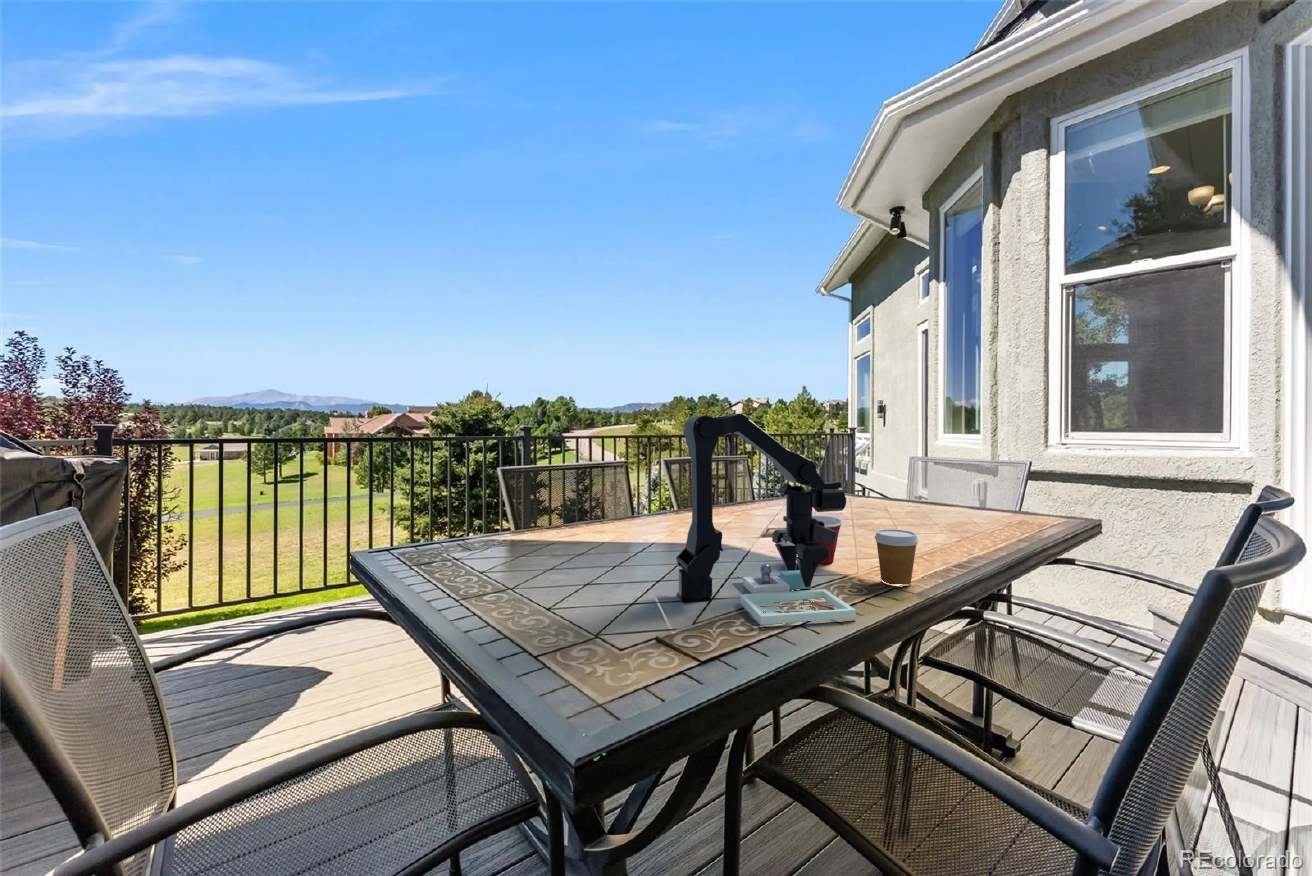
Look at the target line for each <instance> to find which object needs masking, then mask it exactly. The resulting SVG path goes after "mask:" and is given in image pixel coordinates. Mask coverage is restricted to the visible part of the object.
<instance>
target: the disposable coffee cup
mask: <svg viewBox="0 0 1312 876" xmlns="http://www.w3.org/2000/svg"><path fill="white" fill-rule="evenodd" d="M874 539H875V542H876V546H877V556H878V564H879V572H880V579H882V580H883V581H884V582H886V583H889V584H910V583H911V584H912V579H913V571H914V563H915V557H916V550H917V549H916V548H917V545H918V543H919V542H920V541H919V540H920V539H919V538H918V535H917V533H915V532H913V531H911V530H910V531H909V530H906V529H905V530H904V529H896V528H895V529H894V528H893V529H892V528H891V529H889V528H886V529H878V530H877V531H876V534H875V535H874Z"/></svg>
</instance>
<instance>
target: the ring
mask: <svg viewBox="0 0 1312 876" xmlns="http://www.w3.org/2000/svg"><path fill="white" fill-rule="evenodd" d="M742 583H743V586H744V587H745V588H746V589H747V590H748V591H749V592H750V593H752V594H757V593H773V592H789V591H790V590H796V591H798V590H797V589H806V588H811V589H812V584H811V585H810V587H805V586H804V583H803V580H802V577H801V573H800V570H799V569H798V570H796V569H795V571H787V570H781V571H780V570H779V576H778V575H775V574H774V575H771V574H770V584H764V585H761V575H754V576H743V577H742Z"/></svg>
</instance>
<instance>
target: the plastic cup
mask: <svg viewBox="0 0 1312 876" xmlns="http://www.w3.org/2000/svg"><path fill="white" fill-rule="evenodd" d="M812 518H815V519H816V520H818V521H821V522H823V523H824V525H825V527H826V528H828V529H831V530H833V531H836V532H838V534H837V537H836V539H835V542H834V545H830V544H829V543H827V542H824V541H821V540H818V542H820V543H822V544H824V545H826V546H827V547H828V548H829V549H830V558H829V559H826V560H825V561H822V562H821V563H820V564H818V566H819V565H821V566H825V565H827V566H828V565H833V564H834V559H835V554H836V550H837V546H838V545H837V544H838V539H839V533H840V529H841V526H842V524H843V519H841V518H840V517H837V516H829V515H812ZM810 543H811V542H810ZM832 563H833V564H832Z"/></svg>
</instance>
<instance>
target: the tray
mask: <svg viewBox="0 0 1312 876" xmlns="http://www.w3.org/2000/svg"><path fill="white" fill-rule="evenodd" d="M812 598H824V599H825V600H826V601H827V602H829V603H830V604H832V605H833V606H835V607H836V608H837V609H834V610H819V611H818V610H817V611H814V610H811V609H810V610H806V609H805V608H804V609H800V610H799V609H798V610H797V609H795V610H794V609H793V610H790V609H789V611H805V612H790V613H778V612H777V613H774V612H773V611H788V610H784V609H780V608H778V609H777V607H773V606H784V605H785V604H783V605H782V604H780V603H779V604H778V603H774V602H787V601H788V602H801V601H790V600H802V602H803V599H812ZM804 602H809V601H804ZM811 602H812V601H811ZM813 602H814V601H813ZM739 605H740V606H742V608H743V609H746V610H747V611H748V612H749V613H750V614H751V615H752V616H753V617H754V618H753V617H752V616H751V615H750V614H749V613H748V612H747V611H746V610H745V611H746V612H747V613H748V614H749V615H750V616H751V617H752V618H753V619H754V621H756V620H757V621H756V622H757V624H758V625H759V624H760V625H773V624H783V623H791V622H792V623H793V622H805V621H815V620H835V619H844V618H853V617H856V616H857V610H856V609H855V608H854V607H852V606H850V605H849V604H848V603H846V602H845V601H843V600H841V598H839V597H837V595H834V594H833V593H831V592H830V591H828V590H826V589H824V588H823V589H811V590H796V591H789V592H773V593H757V594H742V593H741V594H739ZM757 606H758V607H757ZM760 606H766V608H765V607H760ZM767 606H769V607H767ZM770 606H771V607H770ZM785 606H791V605H785ZM793 606H794V605H793ZM796 606H797V605H796ZM798 606H799V605H798ZM800 606H801V605H800ZM802 606H810V605H802ZM811 606H812V605H811ZM762 611H772V612H766V613H765V612H764V613H763V612H762ZM856 618H857V617H856Z"/></svg>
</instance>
